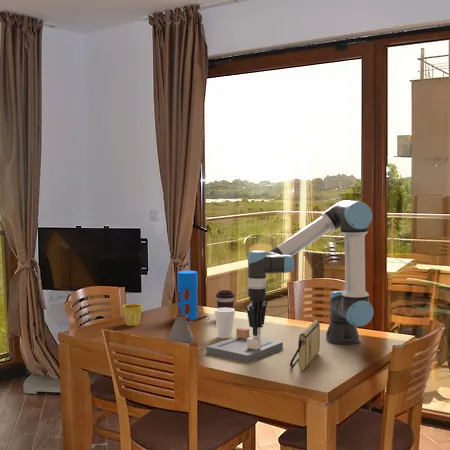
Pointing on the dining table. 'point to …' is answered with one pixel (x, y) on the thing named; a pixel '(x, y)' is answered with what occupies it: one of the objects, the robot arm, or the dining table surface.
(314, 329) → the clutch purse
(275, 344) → the slider panel
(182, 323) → the coffee pot
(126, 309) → the plant pot
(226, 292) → the coffee cup
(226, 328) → the foam cup
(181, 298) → the thermos
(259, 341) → the fader
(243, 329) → the fader
